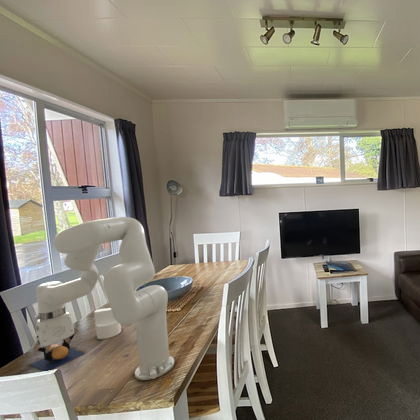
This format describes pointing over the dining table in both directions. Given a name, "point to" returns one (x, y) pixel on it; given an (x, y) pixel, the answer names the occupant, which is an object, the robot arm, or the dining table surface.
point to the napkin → (56, 361)
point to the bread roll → (58, 351)
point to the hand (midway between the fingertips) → (57, 356)
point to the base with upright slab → (106, 324)
